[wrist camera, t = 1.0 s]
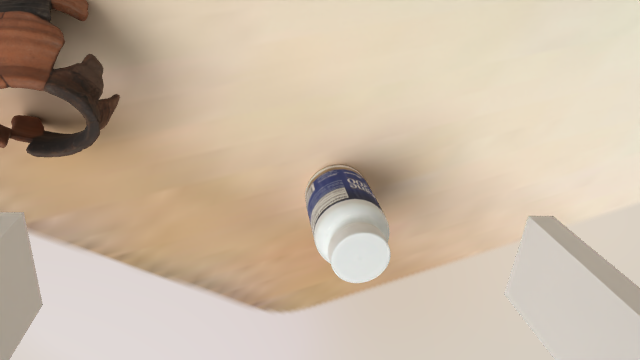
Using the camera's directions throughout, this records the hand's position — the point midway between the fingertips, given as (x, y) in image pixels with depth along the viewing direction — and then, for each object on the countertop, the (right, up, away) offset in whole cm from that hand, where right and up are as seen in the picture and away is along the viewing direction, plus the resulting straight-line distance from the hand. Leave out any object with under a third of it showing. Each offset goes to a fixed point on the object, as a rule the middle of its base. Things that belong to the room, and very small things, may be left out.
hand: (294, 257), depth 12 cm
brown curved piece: (-18, +11, +19) cm, 29 cm away
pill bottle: (+2, +1, +27) cm, 27 cm away
